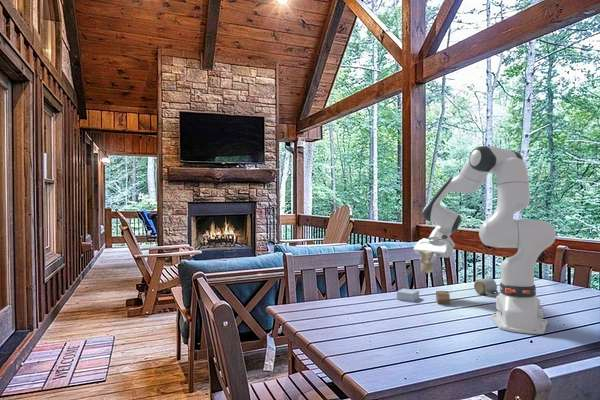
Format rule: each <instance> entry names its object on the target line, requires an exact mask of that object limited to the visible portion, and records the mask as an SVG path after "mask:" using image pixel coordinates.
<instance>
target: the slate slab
mask: <svg viewBox="0 0 600 400" xmlns="http://www.w3.org/2000/svg"><path fill="white" fill-rule="evenodd" d="M418 299H420V290H418V289H412V288H411V289H410V288H402V289H399V290H397V291H396V300H398V301H405V302H412V303H413V302H415V301H417V300H418Z"/></svg>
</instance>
